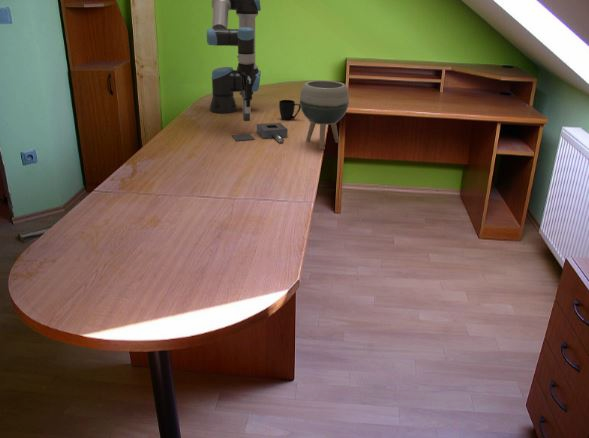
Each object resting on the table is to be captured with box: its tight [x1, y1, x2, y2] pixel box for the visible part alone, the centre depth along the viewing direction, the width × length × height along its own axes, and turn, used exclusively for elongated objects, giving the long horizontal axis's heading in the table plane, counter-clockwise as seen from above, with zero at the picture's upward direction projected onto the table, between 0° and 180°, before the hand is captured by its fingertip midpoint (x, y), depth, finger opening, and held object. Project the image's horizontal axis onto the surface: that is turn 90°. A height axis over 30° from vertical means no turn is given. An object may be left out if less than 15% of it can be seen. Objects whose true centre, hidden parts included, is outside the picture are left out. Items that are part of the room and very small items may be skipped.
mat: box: [231, 133, 256, 142], centre depth 258 cm, size 9×9×1 cm
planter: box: [299, 79, 350, 151], centre depth 247 cm, size 22×22×28 cm
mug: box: [278, 99, 301, 121], centre depth 290 cm, size 8×12×10 cm
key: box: [239, 90, 254, 122], centre depth 261 cm, size 3×6×14 cm, turn 110°
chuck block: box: [256, 122, 288, 144], centre depth 260 cm, size 21×12×4 cm, turn 20°
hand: (246, 111), depth 263 cm, fingers closed on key, 3 cm apart
